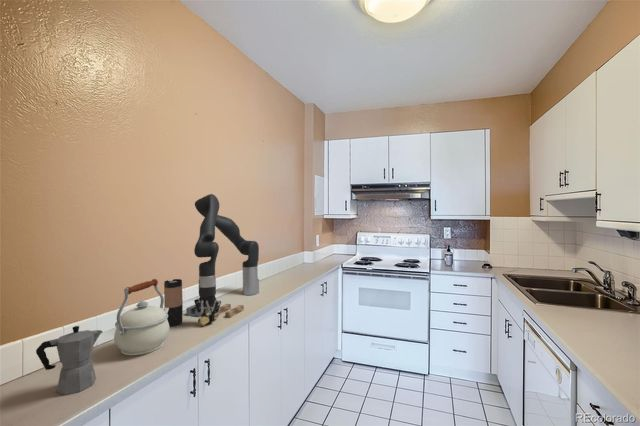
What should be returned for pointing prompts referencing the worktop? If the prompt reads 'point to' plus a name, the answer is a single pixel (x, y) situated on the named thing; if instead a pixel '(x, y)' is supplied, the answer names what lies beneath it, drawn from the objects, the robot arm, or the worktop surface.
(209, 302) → the robot arm
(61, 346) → the coffeepot
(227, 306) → the parallel bars
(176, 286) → the travel mug
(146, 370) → the worktop surface
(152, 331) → the kettle
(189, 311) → the v block
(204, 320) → the axle
